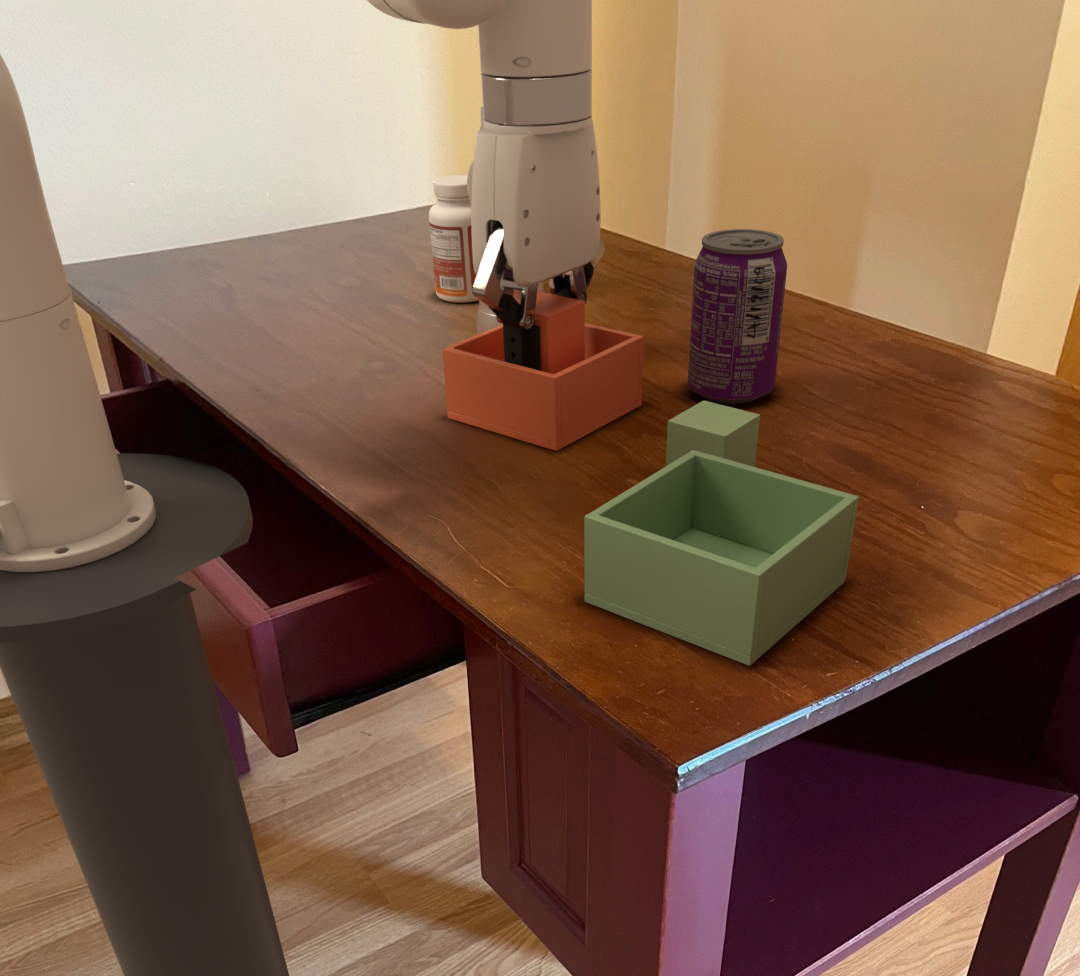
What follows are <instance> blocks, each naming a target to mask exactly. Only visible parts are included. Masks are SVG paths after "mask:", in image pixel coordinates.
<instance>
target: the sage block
mask: <svg viewBox="0 0 1080 976" xmlns="http://www.w3.org/2000/svg"><path fill="white" fill-rule="evenodd" d="M760 420H761V414H760V413H755V412H752V411H747V410H744V409H739V408H735V407H732V406H727V405H724V404H721V403H719V404H718V403H717V402H713V401H709V400H701V401H700V402H698V403H696V404H695V405H692V406H691V407H690V408H688V409H686V410H684V411H683V412H680V413H679V414H677V415H675V416H674V417H672V418H670V419H668V420H667V428H666V429H667V430H666V453H665V454H666V455H665V467H666V466H667V465H669V464H671V463H672V462H674V461H676V460H677V459H679V458H680V457H682V456H684V455H685V454H687V453H689V452H690V451H692V450H696V451H699V452H703V453H706V454H710V455H714V456H717V457H721V458H724V459H728V460H731V461H735V462H738V463H742V464H746V465H749V466H753V467H756V461H757V451H758V441H759V440H758V439H759V430H760V429H759V428H760Z"/></svg>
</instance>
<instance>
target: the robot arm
mask: <svg viewBox="0 0 1080 976" xmlns="http://www.w3.org/2000/svg"><path fill="white" fill-rule="evenodd" d="M366 1H367V2H368V3H369V4H370V5H371V6H373V7H374V8H375V9H377V10H378V11H380V12H381V13H383V14H385V15H387V16H390V17H392V18H395V19H399V20H401V21H406V22H411V23H415V24H416V23H417V24H421V25H422V24H423V25H431V26H435V27H440V28H443V29H444V28H445V29H450V30H464V29H470V28H474V27H476V26H478V27H477V28H478V29H477V30H478V45H479V47H478V48H479V65H480V72H481V73H480V82H481V97H482V98H481V99H482V100H481V101H482V106H483V118H484V119H483V120H484V129H482V130H480V129H479V130H477V133H476V138H475V146H474V151H473V160H474V161H473V160H472V162H473V174H472V198H471V228H472V256H473V266H474V271H475V274H476V279H475V282H474V285H473V288H472V293H473V295H474V297H476V298H477V299H479V300H480V301H482V302H483V303H484V304H486V305H488V307H489V308H490V309H491V310H492V311H493V312H494V313H495V314H496V319H497V321H498V322H499V323H503V338H504V358H505V362H508V363H512V364H516V365H520V366H523V367H527V368H531V369H535V370H539V371H541V359H540V326H536V325H533V323H534V317H535V308H536V299H537V289H538V283H541V282H543V283H544V282H546V281H547V282H548V288H549V294H553V295H558V296H563V297H568V298H573V299H577V300H582V301H584V306H585V305H586V304H587V302H588V298H589V296H588V287H589V285H590V283H591V281H592V278H593V276H594V273H595V271H594V270H595V269H596V268H597V266H598V264H599V263H600V262H601V259H602V258H603V256H604V254H605V251H606V247H605V244H604V242H603V239H602V238H601V228H602V227H601V221H602V219H601V216H602V215H601V211H602V209H601V187H600V186H601V185H600V183H601V182H600V172H599V171H600V168H599V160H598V159H599V158H598V149H597V142H596V134H595V127H594V122H593V103H592V102H593V70H592V68H593V0H366ZM34 152H35V151H34V148H33V144H32V139H31V134H30V132H29V127H28V123H27V119H26V115H25V113H24V108H23V105H22V102H21V99H20V95H19V93H18V90H17V86H16V84H15V82H14V79H13V77H12V74H11V72H10V70H9V67H8V65H7V64H6V62H5V60H4V58H3V56H2V54H1V53H0V570H1V571H9V572H25V573H35V572H47V571H55V570H61V569H67V568H73V567H77V566H80V565H84V564H88V563H92V562H94V561H97V560H100V559H103V558H106V557H108V556H111V555H113V554H115V553H117V552H120V551H122V550H124V549H125V548H127V547H129V546H130V545H132V544H134V543H135V542H136V541H138V540H139V539H140V538H141V537H143V536H144V535H145V534H146V533H147V532H148V530H149V529H150V528H151V527H152V526H153V523H154V521H155V519H156V509H155V505H154V502H153V498H152V496H151V495H150V493H149V492H148V491H147V490H145V489H144V488H142V487H141V486H139V485H137V484H134V483H132V482H129V481H125V480H124V478H123V475H122V471H121V468H120V464H119V461H118V457H117V454H118V453H117V450H116V447H115V443H114V439H113V436H112V432H111V429H110V425H109V422H108V418H107V415H106V411H105V408H104V404H103V400H102V397H101V394H100V390H99V387H98V383H97V379H96V376H95V371H94V368H93V364H92V362H91V357H90V355H89V350H88V346H87V343H86V340H85V337H84V333H83V329H82V326H81V322H80V319H79V315H78V312H77V307H76V305H75V300H74V298H73V294H72V290H71V289H70V285H69V283H68V282H69V281H68V278H67V275H66V272H65V267H64V265H63V261H62V257H61V253H60V250H59V246H58V243H57V239H56V236H55V231H54V228H53V225H52V221H51V217H50V213H49V210H48V209H49V208H48V205H47V202H46V197H45V194H44V190H43V185H42V182H41V177H40V172H39V170H38V166H37V161H36V156H35V153H34ZM514 289H516V290H521V291H522V292H521V302H520V304H519V303H518V302H517V301H516V299H515V298H514V297H513V296H514ZM479 300H478V301H479Z"/></svg>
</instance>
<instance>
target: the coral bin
mask: <svg viewBox="0 0 1080 976" xmlns="http://www.w3.org/2000/svg"><path fill="white" fill-rule="evenodd" d="M644 341H645V336H644V335H641V334H636V333H631V332H626V331H622V330H618V329H615V328H614V329H613V328H609V327H604V326H599V325H595V324H592V323H591V324H590V323H587V322H585V360H583V361H581V362H579V363H577V364H575V365H573V366H571V367H568V368H566V369H564V370H562V371H560V372H558V373H556V374H550V373H547V372H543V371H539V370H535V369H531V368H527V367H523V366H520V365H516V364H512V363H508V362H505V358H504V338H503V324H502V325H499V326H497V327H495V328H492V329H490V330H487V331H485V332H482V333H480V334H477V333H476V334H474V335H472V336H470V337H468V338H465V339H463V340H460V341H457V342H455V343H452V344H450V345H448V346H446V347H443V348H442V349H441V350H442V363H443V375H444V385H445V386H444V388H445V399H446V410H447V413H446V414H447V418H448V419H450V420H453V421H456V422H460V423H463V424H466V425H469V426H473V427H476V428H479V429H483V430H486V431H489V432H492V433H496V434H499V435H503V436H506V437H509V438H512V439H515V440H519V441H523V442H525V443H529V444H533V445H535V446H539V447H541V448H545V449H548V450H551V451H554V452H558V451H560V450H561V449H563V448H565V447H567V446H568V445H571V444H573V443H574V442H577V441H578V440H580V439H582V438H584V437H585V436H587V435H589V434H591V433H593V432H595V431H597V430H599V429H601V428H602V427H604V426H606V425H608V424H609V423H611V422H613V421H615V420H617V419H619V418H621V417H623V416H624V415H626V414H628V413H630V412H632V411H633V410H635V409H637V408H639V407H641V406H642V405H643V380H644V379H643V378H644V377H643V375H644V346H645V344H644V343H645V342H644Z"/></svg>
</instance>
